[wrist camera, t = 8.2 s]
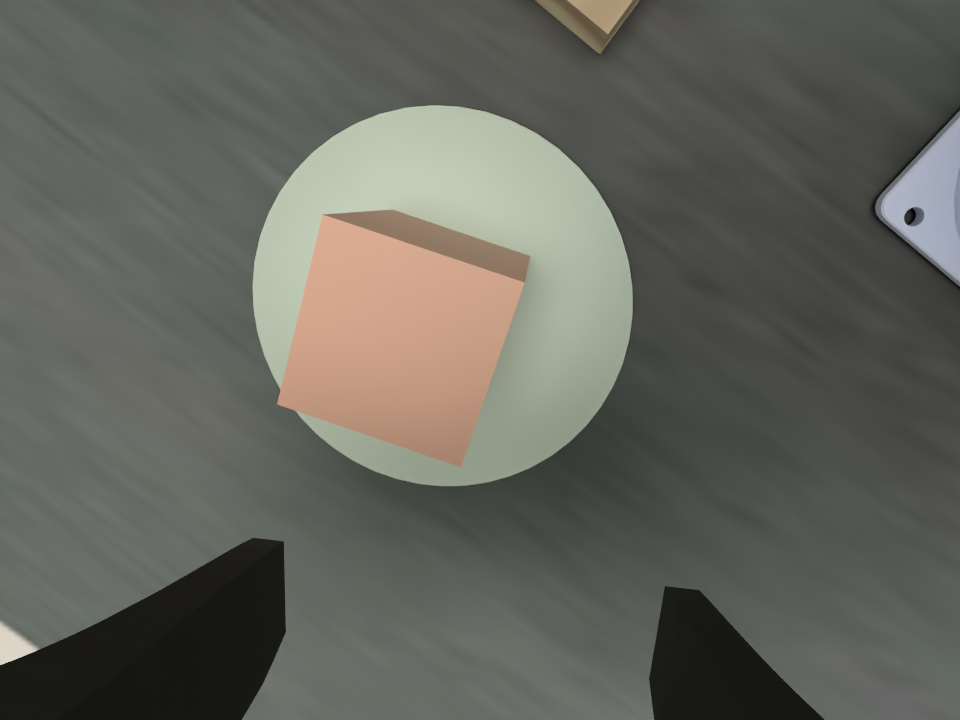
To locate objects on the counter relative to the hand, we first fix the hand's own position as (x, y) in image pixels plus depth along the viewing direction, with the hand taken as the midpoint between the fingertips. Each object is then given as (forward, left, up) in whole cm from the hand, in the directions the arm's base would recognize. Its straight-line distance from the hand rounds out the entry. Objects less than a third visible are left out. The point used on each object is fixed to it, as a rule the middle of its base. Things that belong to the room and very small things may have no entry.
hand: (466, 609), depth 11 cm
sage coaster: (+4, -2, -9) cm, 10 cm away
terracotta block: (+4, -2, -9) cm, 10 cm away
